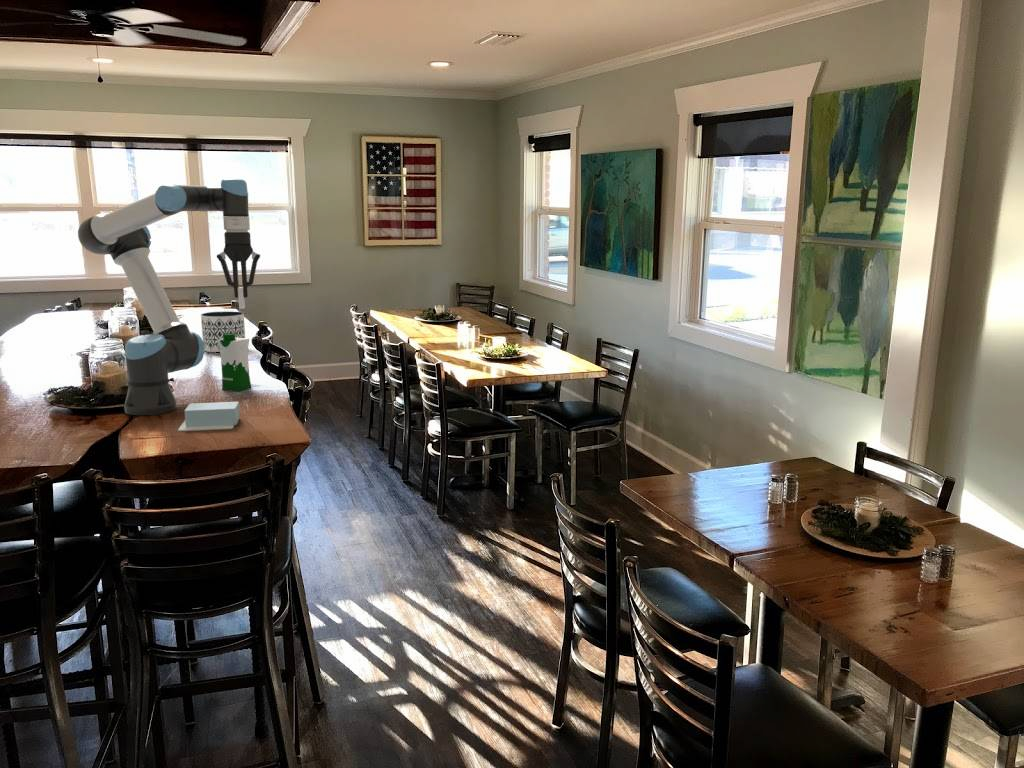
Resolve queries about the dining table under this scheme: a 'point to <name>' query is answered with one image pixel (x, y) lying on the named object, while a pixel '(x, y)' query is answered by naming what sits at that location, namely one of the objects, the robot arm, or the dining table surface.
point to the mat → (184, 428)
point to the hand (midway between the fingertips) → (242, 308)
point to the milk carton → (234, 363)
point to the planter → (220, 327)
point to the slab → (212, 414)
